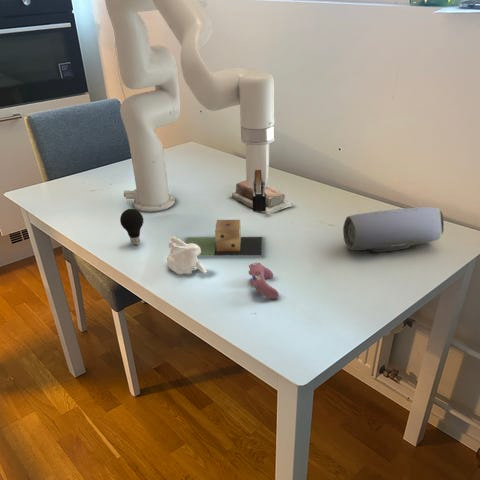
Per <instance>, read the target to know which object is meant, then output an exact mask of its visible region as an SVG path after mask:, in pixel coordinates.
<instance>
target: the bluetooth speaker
mask: <svg viewBox="0 0 480 480" xmlns="http://www.w3.org/2000/svg"><path fill="white" fill-rule="evenodd" d="M444 226H445V225H444V215H443V212H442V211H441V209H440V208H439V207H436V206H420V207H405V208H394V209H393V208H392V209H385V210H378V211H370V212H364V213H356V214H352V215H348V216H346V218H345V220H344V223H343V228H342V233H343V241H344V244H345V246H346V247H347V249H348V250H349V251H361V250H362V251H363V250H369V251H371V252H375V253H380V252H381V253H382V252H391V251H398V250H404V249H405V250H406V249H409V248H410V247H411V246H413V245H414V246H415V245H419V244H424V243H430V242H434V241H438V240H439V239H441V238H442V236H443V233H444Z"/></svg>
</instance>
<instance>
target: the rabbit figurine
mask: <svg viewBox="0 0 480 480" xmlns="http://www.w3.org/2000/svg"><path fill="white" fill-rule="evenodd" d="M168 247H169V248H170V251H169V253H168V254H167V255H166V262H167V266H168V268H169V269H170V270H171V271H173V272H174V273H176V274H178V275H182V274H188V275H190V274H192V271H196V270H197V269H198V270H199V271H200V272H201V273H203V274H206V273H207V272H208V271H207V270H206V269H205V267H204V266H203V264H202V263H201V262H200V260H199V258H198V256H197V255H199V254H200V253H201V249H200V247H199V246H198V245H196V244H194V243H190V244H186V242H184V241H183V240H181V238H178V237H176V236H171V237H170V239H169V242H168Z"/></svg>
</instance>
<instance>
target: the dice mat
mask: <svg viewBox="0 0 480 480" xmlns="http://www.w3.org/2000/svg"><path fill="white" fill-rule="evenodd" d="M185 243H186V244H190V243H194V244H196V245H198V246H199V247H200V249H201V253H200V254H199V255H197V257H199V256H200V257H204V256H205V257H206V256H207V257H209V256H213V257H214V256H215V257H216V256H217V257H218V256H225V257H226V256H227V257H228V256H262V250H263V249H262V248H263V237H262V236H241V246H240V251H216V236H214V237H213V236H211V237H207V236H205V237H204V236H203V237H201V236H200V237H187V238H186V242H185Z"/></svg>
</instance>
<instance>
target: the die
mask: <svg viewBox="0 0 480 480" xmlns="http://www.w3.org/2000/svg"><path fill="white" fill-rule="evenodd" d="M215 223H216V224H215V227H214V228H215V229H214V233H215V236H214V237H216V251H240V246H241V237H242V231H241V229H242V228H241V219H217V220H216V222H215Z"/></svg>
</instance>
